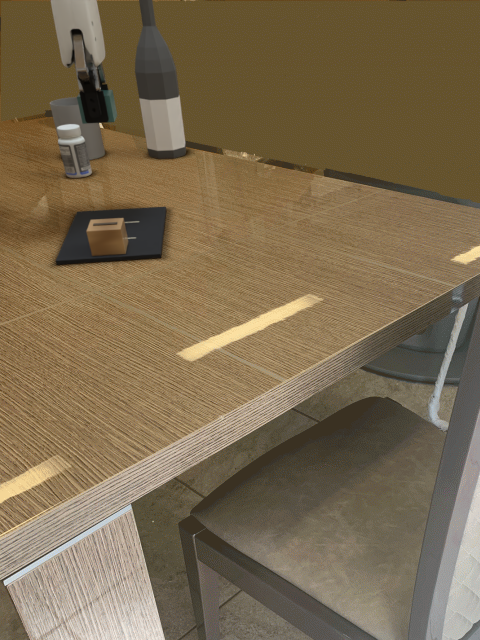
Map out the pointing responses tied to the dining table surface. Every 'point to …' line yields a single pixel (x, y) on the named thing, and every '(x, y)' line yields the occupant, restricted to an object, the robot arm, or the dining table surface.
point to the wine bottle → (158, 90)
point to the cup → (70, 114)
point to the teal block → (109, 104)
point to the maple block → (107, 236)
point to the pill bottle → (73, 151)
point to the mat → (140, 229)
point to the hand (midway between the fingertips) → (99, 116)
